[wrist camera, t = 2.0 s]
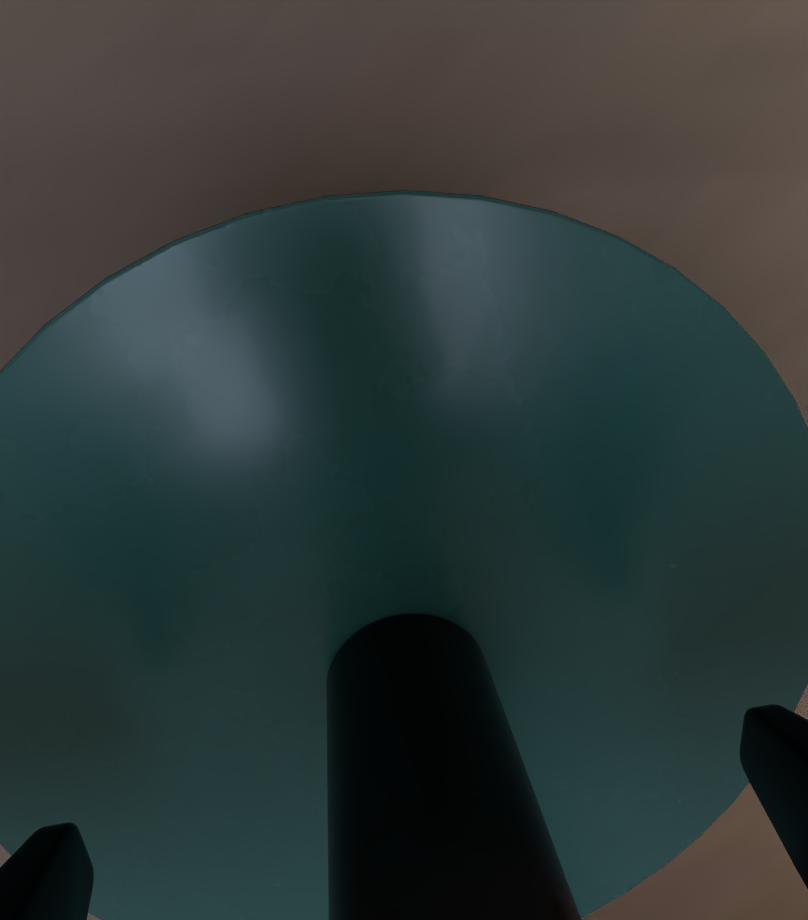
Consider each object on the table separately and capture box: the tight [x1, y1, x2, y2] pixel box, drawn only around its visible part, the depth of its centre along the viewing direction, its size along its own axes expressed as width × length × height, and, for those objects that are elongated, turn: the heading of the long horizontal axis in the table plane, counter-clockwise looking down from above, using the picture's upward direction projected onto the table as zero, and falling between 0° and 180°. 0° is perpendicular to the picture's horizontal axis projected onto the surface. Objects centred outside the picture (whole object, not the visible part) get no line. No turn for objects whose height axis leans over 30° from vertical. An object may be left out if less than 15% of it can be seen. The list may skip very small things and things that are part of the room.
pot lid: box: [0, 190, 808, 920], centre depth 9 cm, size 15×15×6 cm
